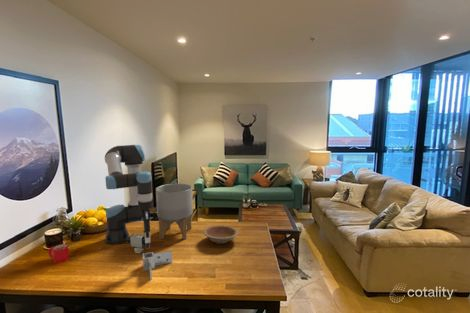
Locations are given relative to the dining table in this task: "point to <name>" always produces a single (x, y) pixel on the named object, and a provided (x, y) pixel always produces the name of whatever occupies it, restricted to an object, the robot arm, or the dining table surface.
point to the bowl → (220, 233)
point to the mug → (59, 253)
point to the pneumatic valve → (137, 242)
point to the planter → (174, 207)
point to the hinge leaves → (156, 260)
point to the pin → (147, 245)
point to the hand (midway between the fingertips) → (147, 241)
